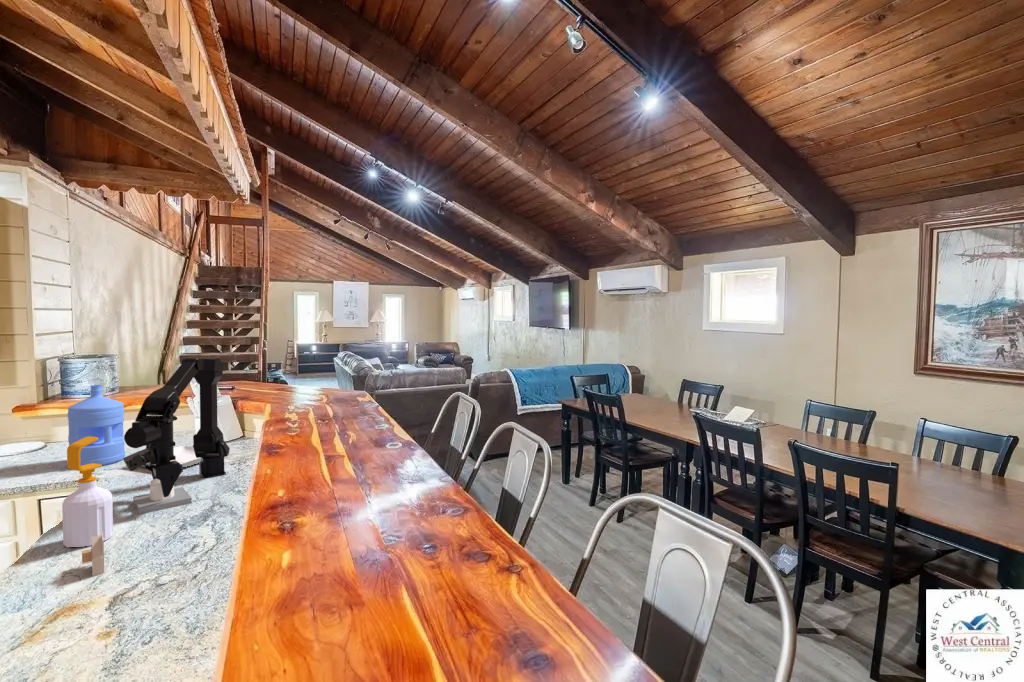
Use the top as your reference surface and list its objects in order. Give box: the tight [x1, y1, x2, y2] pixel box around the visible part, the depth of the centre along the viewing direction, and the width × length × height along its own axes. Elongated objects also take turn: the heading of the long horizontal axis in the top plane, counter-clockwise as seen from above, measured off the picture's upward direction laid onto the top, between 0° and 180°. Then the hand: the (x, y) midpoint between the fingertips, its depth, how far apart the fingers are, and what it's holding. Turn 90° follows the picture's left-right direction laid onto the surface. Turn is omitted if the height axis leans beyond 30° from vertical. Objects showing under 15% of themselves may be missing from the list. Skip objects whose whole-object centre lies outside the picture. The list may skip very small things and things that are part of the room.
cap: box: [149, 479, 175, 501], centre depth 141 cm, size 5×5×5 cm
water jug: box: [67, 384, 126, 467], centre depth 178 cm, size 16×16×28 cm
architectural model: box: [81, 531, 105, 577], centre depth 104 cm, size 3×7×7 cm, turn 42°
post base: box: [132, 486, 192, 515], centre depth 141 cm, size 12×12×6 cm
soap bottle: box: [61, 436, 114, 548], centre depth 116 cm, size 9×9×25 cm
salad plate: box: [141, 444, 201, 468], centre depth 179 cm, size 21×21×3 cm
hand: (162, 492), depth 141 cm, fingers open, 9 cm apart
